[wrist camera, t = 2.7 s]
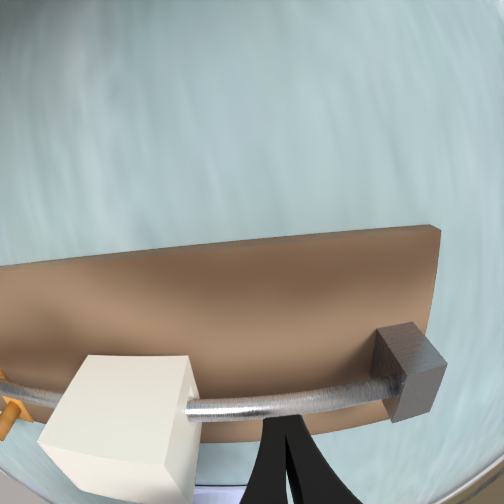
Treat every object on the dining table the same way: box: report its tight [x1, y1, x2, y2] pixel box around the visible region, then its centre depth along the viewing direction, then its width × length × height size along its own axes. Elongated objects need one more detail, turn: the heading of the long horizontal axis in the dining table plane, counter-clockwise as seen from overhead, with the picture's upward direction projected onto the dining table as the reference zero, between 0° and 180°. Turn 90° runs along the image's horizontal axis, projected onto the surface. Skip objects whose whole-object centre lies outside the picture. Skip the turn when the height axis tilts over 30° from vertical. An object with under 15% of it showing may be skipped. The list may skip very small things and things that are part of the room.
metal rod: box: [0, 321, 448, 423], centre depth 12 cm, size 3×29×4 cm, turn 95°
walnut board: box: [0, 224, 441, 443], centre depth 12 cm, size 12×34×4 cm, turn 95°
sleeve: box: [37, 355, 202, 504], centre depth 10 cm, size 4×5×6 cm
